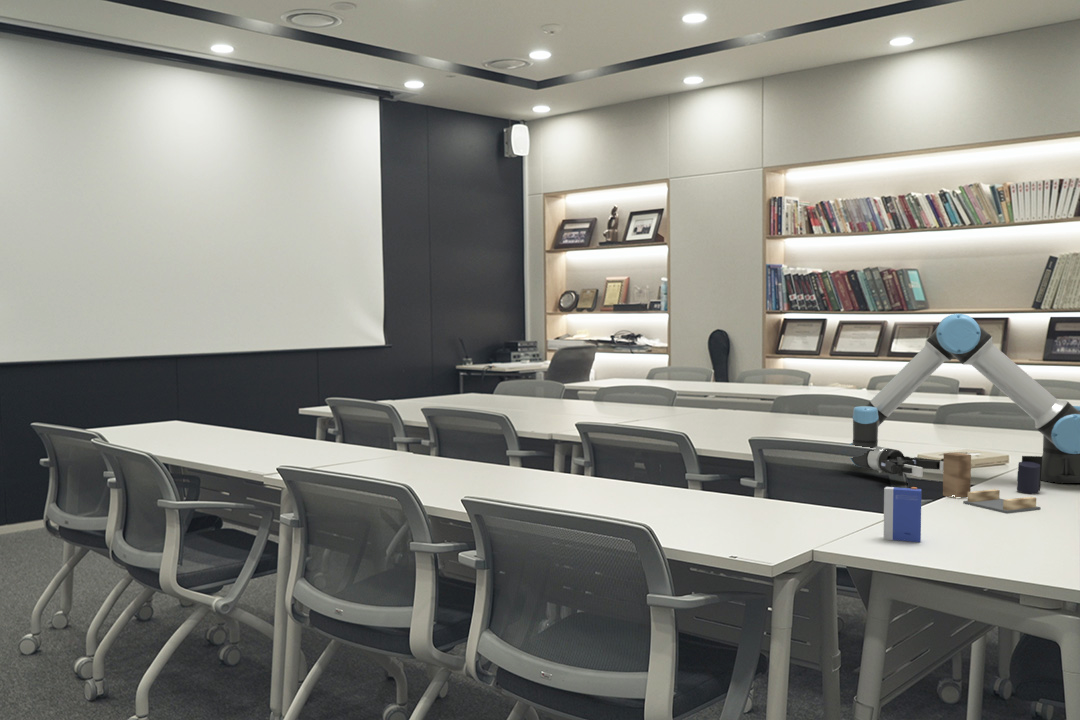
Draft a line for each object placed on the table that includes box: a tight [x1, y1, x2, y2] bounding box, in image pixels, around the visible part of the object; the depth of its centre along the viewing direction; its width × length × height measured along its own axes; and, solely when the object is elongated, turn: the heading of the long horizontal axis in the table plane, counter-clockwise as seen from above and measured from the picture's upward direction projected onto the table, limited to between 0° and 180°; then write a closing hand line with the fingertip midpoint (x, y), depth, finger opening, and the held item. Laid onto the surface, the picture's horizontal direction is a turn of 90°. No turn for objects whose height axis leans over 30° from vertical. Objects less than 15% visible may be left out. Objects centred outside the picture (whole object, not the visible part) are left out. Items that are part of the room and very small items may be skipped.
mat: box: [962, 497, 1041, 514], centre depth 246 cm, size 12×14×1 cm
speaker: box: [1016, 455, 1042, 495], centre depth 265 cm, size 8×6×10 cm
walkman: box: [883, 486, 922, 543], centre depth 210 cm, size 8×3×12 cm, turn 65°
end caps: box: [967, 488, 1037, 510], centre depth 246 cm, size 10×13×2 cm
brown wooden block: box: [942, 452, 972, 498], centre depth 259 cm, size 5×5×12 cm
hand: (940, 470), depth 264 cm, fingers open, 13 cm apart
